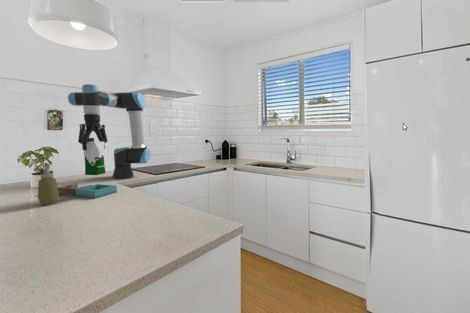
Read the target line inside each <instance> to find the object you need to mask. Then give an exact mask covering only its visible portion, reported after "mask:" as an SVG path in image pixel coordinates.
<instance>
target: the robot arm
mask: <svg viewBox="0 0 470 313" xmlns="http://www.w3.org/2000/svg"><path fill="white" fill-rule="evenodd" d="M67 100H68V101H67V102H68V103H69V104H70V105H72V106H73V107H75V106H76V107H79V106H82V107H83V113H84V115H83V120H84V123H80V124H79V133H78V143H79V144H80V145H81V146H82V150H83V157H85V156H89V145H88V144H87V142H88V139H89V138H90V137H91V134H92V132H94V133H95V135H96V137H97V139H98V141H101V142H104V149H103V150H104V151H105V148H106V145H105V144H106V143H108V137H107V132H106V125H104V124H100V122H101V109H100V107H101V106H102V107H108V108H115V109H122V110H123V109H125V111H126V113H127V114H128V119H129V126H130V127H129V129H130V135H131V143H132V144H131V146H125V147H119V148H115V149H114V150H113V158H114V159H113V161H114V170H113V173H112V178H113V179H126V178H132V177H134V175H135V174H134V171H133V168H132V164H147V163H148V162H149V160H150V158H151V150H150V149H149V148H148V147H147V146H148V145H146V144H145V139H144V129H143V121H142V120H143V119H142V112H143V111H144V110H143V109H145V107H146V100H145V98H144V95H143V94H142V93H140V92H137V91H136V92H135V91H134V92H132V91H131V92H128V91H127V92H114V93H112V92H111V93H107V92H103V91H100V89H99V86H98V85H97V84H96V85H95V84H90V83H89V84H88V83H87V84H82V88H81V92H80V91H79V92H77V91H75V92H70V93H69V94H68V96H67Z"/></svg>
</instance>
